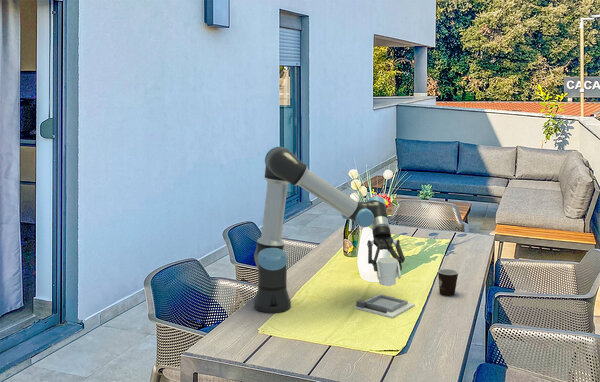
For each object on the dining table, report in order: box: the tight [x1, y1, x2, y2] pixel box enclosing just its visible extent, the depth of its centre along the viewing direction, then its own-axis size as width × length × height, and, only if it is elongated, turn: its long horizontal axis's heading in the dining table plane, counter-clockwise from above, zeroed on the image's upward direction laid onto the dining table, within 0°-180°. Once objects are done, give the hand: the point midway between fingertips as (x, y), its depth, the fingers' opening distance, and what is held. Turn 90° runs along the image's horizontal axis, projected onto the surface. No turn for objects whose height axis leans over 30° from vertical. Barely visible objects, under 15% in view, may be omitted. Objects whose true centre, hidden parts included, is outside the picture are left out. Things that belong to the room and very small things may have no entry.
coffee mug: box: [437, 268, 459, 297], centre depth 276 cm, size 12×9×10 cm
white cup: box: [377, 256, 397, 287], centre depth 257 cm, size 8×8×10 cm
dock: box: [353, 294, 416, 319], centre depth 258 cm, size 18×18×3 cm
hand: (389, 277), depth 254 cm, fingers closed on white cup, 8 cm apart
